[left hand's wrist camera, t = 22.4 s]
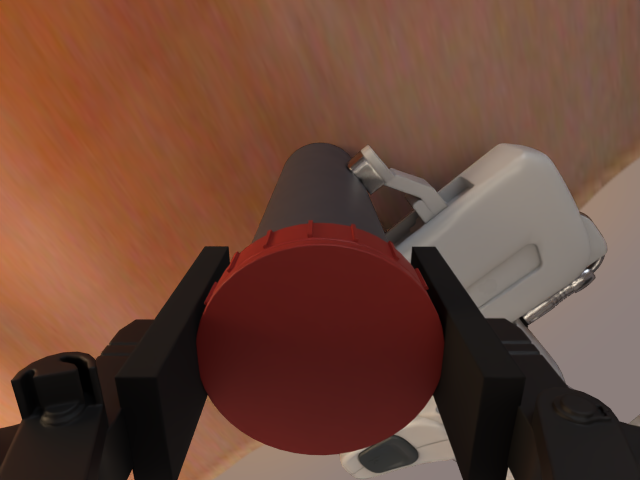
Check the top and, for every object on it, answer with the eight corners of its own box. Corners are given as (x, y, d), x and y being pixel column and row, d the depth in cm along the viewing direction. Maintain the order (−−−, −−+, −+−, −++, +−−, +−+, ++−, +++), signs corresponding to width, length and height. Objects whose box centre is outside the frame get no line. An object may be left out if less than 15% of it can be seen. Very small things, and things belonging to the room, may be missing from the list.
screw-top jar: (274, 210, 29) (208, 399, 12) (289, 134, 27) (237, 225, 10) (348, 226, 30) (388, 431, 12) (368, 152, 28) (446, 269, 11)
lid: (208, 209, 11) (190, 229, 9) (452, 231, 11) (473, 256, 9) (207, 405, 13) (192, 447, 11) (411, 421, 13) (423, 465, 12)
